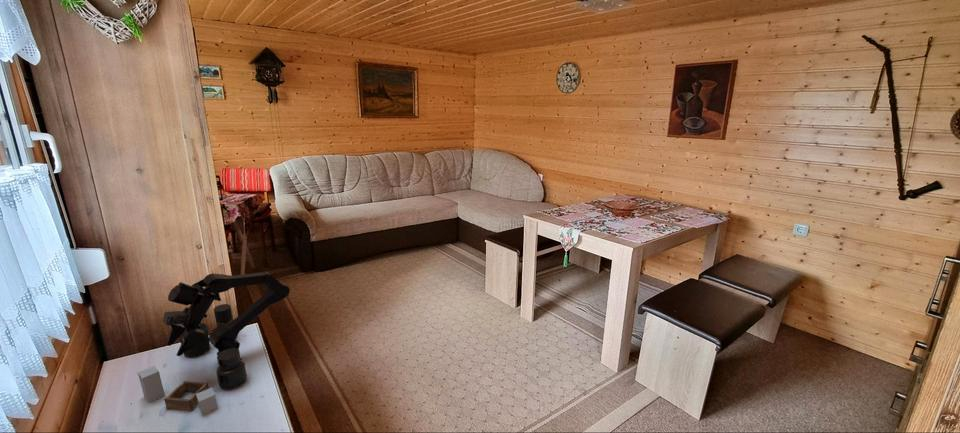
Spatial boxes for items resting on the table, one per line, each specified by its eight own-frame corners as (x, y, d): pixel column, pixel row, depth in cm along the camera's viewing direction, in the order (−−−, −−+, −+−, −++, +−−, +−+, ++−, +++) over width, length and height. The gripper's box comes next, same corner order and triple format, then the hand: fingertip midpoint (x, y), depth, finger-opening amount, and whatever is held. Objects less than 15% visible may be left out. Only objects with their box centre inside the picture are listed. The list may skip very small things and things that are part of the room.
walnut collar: (186, 390, 142) (184, 380, 140) (209, 392, 141) (207, 383, 140) (166, 408, 133) (164, 399, 132) (191, 411, 133) (188, 401, 132)
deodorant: (231, 333, 174) (226, 302, 170) (238, 338, 171) (233, 307, 166) (216, 339, 170) (210, 308, 165) (223, 345, 166) (217, 313, 162)
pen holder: (216, 348, 164) (212, 326, 161) (192, 361, 156) (187, 339, 153) (201, 341, 168) (197, 320, 165) (177, 354, 160) (172, 332, 157)
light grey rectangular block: (160, 389, 142) (154, 365, 139) (164, 395, 139) (158, 371, 136) (144, 397, 138) (137, 372, 135) (148, 403, 136) (142, 378, 133)
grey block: (214, 400, 138) (211, 387, 136) (217, 408, 135) (215, 394, 133) (198, 407, 135) (195, 394, 133) (202, 415, 131) (199, 401, 130)
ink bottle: (244, 370, 152) (239, 342, 149) (252, 382, 146) (247, 354, 143) (214, 382, 146) (209, 354, 142) (221, 395, 140) (215, 366, 136)
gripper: (165, 294, 143) (138, 336, 140) (185, 312, 133) (157, 358, 129) (197, 302, 152) (172, 341, 148) (218, 319, 142) (192, 362, 138)
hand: (173, 350), depth 141 cm, fingers open, 9 cm apart
